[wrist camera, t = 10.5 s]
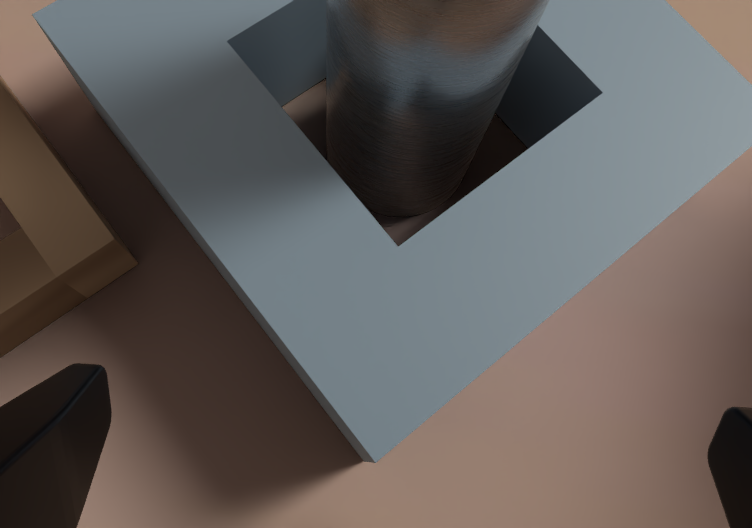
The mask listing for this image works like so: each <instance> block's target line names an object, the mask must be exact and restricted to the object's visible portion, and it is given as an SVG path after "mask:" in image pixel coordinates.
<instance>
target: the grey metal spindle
mask: <svg viewBox="0 0 752 528" xmlns="http://www.w3.org/2000/svg"><path fill="white" fill-rule="evenodd" d="M549 1H550V0H326V136H327V159H328V163H329V164H330V166H331V167H332V168H333V169H334V170H335V172H336V173H337V174H338V175H339V176H340V178H341V179H342V180H343V181H344V182H345V184H346V185H347V186H348V187H349V188H350V190H351V191H352V192H353V193H354V194H355V196H356V197H357V198H358V199H359V200H360V202H361V203H362V204H363V205H364V206H365V208H366V209H368V210H370V211H373V212H376V213H379V214H383V215H387V216H397V217H402V216H413V215H418V214H421V213H425V212H427V211H430V210H432V209H434V208H436V207H438V206H439V205H441V204H442V203H444V202H445V201H446V200H447V199H449V197H450V196H451V195H452V194H453V193H454V192H455V191H456V189H457V188H458V186H459V185H460V183H461V181H462V179H463V177H464V175H465V173H466V171H467V169H468V167H469V165H470V163H471V161H472V159H473V157H474V155H475V153H476V150H477V148H478V146H479V144H480V142H481V140H482V138H483V136H484V134H485V132H486V130H487V128H488V126H489V124H490V122H491V120H492V118H493V116H494V114H495V111H496V109H497V107H498V105H499V103H500V101H501V99H502V97H503V95H504V93H505V91H506V89H507V87H508V85H509V83H510V81H511V79H512V77H513V75H514V72H515V70H516V68H517V66H518V64H519V62H520V60H521V58H522V56H523V54H524V52H525V50H526V48H527V46H528V44H529V42H530V40H531V38H532V36H533V33H534V31H535V29H536V27H537V25H538V23H539V21H540V19H541V17H542V15H543V13H544V11H545V9H546V7H547V5H548V3H549Z"/></svg>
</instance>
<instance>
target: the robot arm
mask: <svg viewBox="0 0 752 528" xmlns="http://www.w3.org/2000/svg"><path fill="white" fill-rule="evenodd" d="M111 413H112V412H111V403H110V395H109V387H108V379H107V373H106V370H105V368H104V367H102V366H101V365H94V364H80V363H77V364H72V365H70V366H68V367H66V368H65V369H63V370H61V371H60V372H58V373H56V374H55V375H53V376H51V377H50V378H48V379H46V380H45V381H43V382H41V383H40V384H38V385H36V386H35V387H33V388H31V389H30V390H28V391H26V392H24V393H23V394H21V395H19V396H18V397H16V398H14V399H13V400H11V401H9V402H8V403H6V404H4V405H3V406H1V407H0V528H76V527H77V525H78V522H79V519H80V516H81V513H82V511H83V508H84V505H85V501H86V498H87V495H88V492H89V489H90V486H91V483H92V480H93V477H94V474H95V471H96V468H97V465H98V462H99V458H100V455H101V452H102V449H103V446H104V443H105V440H106V437H107V434H108V431H109V427H110V423H111ZM708 463H709V467H710V470H711V473H712V476H713V479H714V482H715V485H716V488H717V491H718V494H719V497H720V500H721V503H722V506H723V508H724V511H725V514H726V517H727V520H728V523H729V526H730V528H752V408H746V407H731V408H729V409H727V410H726V411H725V412H724V414H723V416H722V418H721V421H720V423H719V425H718V427H717V430H716V432H715V434H714V436H713V439H712V441H711V443H710V446H709V449H708Z"/></svg>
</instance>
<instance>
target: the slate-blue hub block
mask: <svg viewBox="0 0 752 528" xmlns="http://www.w3.org/2000/svg"><path fill="white" fill-rule="evenodd" d="M32 15H33V17H34V18H35V20H36V21H37V23H38V24H39V26H40V27H41V29H42V30H43V32H44V33H45V35H46V36H47V38H48V39H49V41H50V42H51V44H52V45H53V47H54V48H55V50H56V51H57V53H58V54H59V56H60V57H61V59H62V60H63V62H64V63H65V65H66V66H67V68H68V69H69V71H70V72H71V74H72V75H73V77H74V78H75V80H76V81H77V83H78V84H79V86H80V87H81V89H82V90H83V92H84V93H85V95H86V96H87V98H88V99H89V101H90V102H91V104H92V105H93V107H94V108H95V110H96V111H97V112H98V114H99V115H100V116H101V118H102V119H103V120H104V122H105V123H106V124H107V125H108V127H109V128H110V129H111V131H112V132H113V133H114V135H115V136H116V137H117V139H118V140H119V141H120V142H121V144H122V145H123V146H124V148H125V149H126V150H127V152H128V153H129V154H130V156H131V157H132V158H133V160H134V161H135V162H136V163H137V165H138V166H139V167H140V169H141V170H142V171H143V173H144V174H145V175H146V177H147V178H148V179H149V180H150V182H151V183H152V184H153V186H154V187H155V188H156V190H157V191H158V192H159V194H160V195H161V196H162V198H163V199H164V200H165V201H166V203H167V204H168V205H169V207H170V208H171V209H172V211H173V212H174V213H175V215H176V216H177V217H178V218H179V220H180V221H181V222H182V224H183V225H184V226H185V228H186V229H187V230H188V232H189V233H190V234H191V236H192V237H193V238H194V239H195V241H196V242H197V243H198V245H199V246H200V247H201V249H202V250H203V251H204V253H205V254H206V255H207V256H208V258H209V259H210V260H211V262H212V263H213V264H214V266H215V267H216V268H217V270H218V271H219V272H220V274H221V275H222V276H223V277H224V279H225V280H226V281H227V283H228V284H229V285H230V287H231V288H232V289H233V291H234V292H235V293H236V294H237V296H238V297H239V298H240V300H241V301H242V302H243V304H244V305H245V306H246V308H247V309H248V310H249V312H250V313H251V314H252V315H253V317H254V318H255V319H256V321H257V322H258V323H259V325H260V326H261V327H262V329H263V330H264V331H265V332H266V334H267V335H268V336H269V338H270V339H271V340H272V342H273V343H274V344H275V346H276V347H277V348H278V350H279V351H280V352H281V353H282V355H283V356H284V357H285V359H286V360H287V361H288V363H289V364H290V365H291V367H292V368H293V369H294V370H295V372H296V373H297V374H298V376H299V377H300V378H301V380H302V381H303V382H304V384H305V385H306V386H307V388H308V389H309V390H310V391H311V393H312V394H313V395H314V397H315V398H316V399H317V401H318V402H319V403H320V405H321V406H322V407H323V408H324V410H325V411H326V412H327V414H328V415H329V416H330V418H331V419H332V420H333V422H334V423H335V424H336V426H337V427H338V428H339V429H340V431H341V432H342V433H343V435H344V436H345V437H346V439H347V440H348V441H349V443H350V444H351V445H352V447H353V448H354V449H355V450H356V452H357V453H358V454H359V456H360V457H361V458H362V460H363V461H364V462H373V463H376V462H377V461H378V460H380V459H381V458H382V457H383V456H384V455H385V454H387V453H388V452H389V451H390V450H391V449H393V448H394V447H395V446H396V445H397V444H398V443H400V442H401V441H402V440H403V439H404V438H406V437H407V436H408V435H409V434H410V433H412V432H413V431H414V430H415V429H416V428H417V427H419V426H420V425H421V424H422V423H423V422H425V421H426V420H427V419H428V418H429V417H431V416H432V415H433V414H434V413H435V412H436V411H438V410H439V409H440V408H441V407H442V406H444V405H445V404H446V403H447V402H448V401H450V400H451V399H452V398H453V397H454V396H455V395H457V394H458V393H459V392H460V391H461V390H463V389H464V388H465V387H466V386H467V385H469V384H470V383H471V382H472V381H473V380H474V379H476V378H477V377H478V376H479V375H480V374H482V373H483V372H484V371H485V370H486V369H488V368H489V367H490V366H491V365H492V364H493V363H495V362H496V361H497V360H498V359H499V358H501V357H502V356H503V355H504V354H505V353H507V352H508V351H509V350H510V349H511V348H512V347H514V346H515V345H516V344H517V343H518V342H520V341H521V340H522V339H523V338H524V337H526V336H527V335H528V334H529V333H530V332H531V331H533V330H534V329H535V328H536V327H537V326H539V325H540V324H541V323H542V322H543V321H545V320H546V319H547V318H548V317H549V316H550V315H552V314H553V313H554V312H555V311H556V310H558V309H559V308H560V307H561V306H562V305H564V304H565V303H566V302H567V301H568V300H569V299H571V298H572V297H573V296H574V295H575V294H577V293H578V292H579V291H580V290H581V289H583V288H584V287H585V286H586V285H587V284H588V283H590V282H591V281H592V280H593V279H594V278H596V277H597V276H598V275H599V274H600V273H602V272H603V271H604V270H605V269H606V268H607V267H609V266H610V265H611V264H612V263H613V262H615V261H616V260H617V259H618V258H619V257H620V256H622V255H623V254H624V253H625V252H626V251H628V250H629V249H630V248H631V247H632V246H634V245H635V244H636V243H637V242H638V241H639V240H641V239H642V238H643V237H644V236H645V235H647V234H648V233H649V232H650V231H651V230H653V229H654V228H655V227H656V226H657V225H658V224H660V223H661V222H662V221H663V220H664V219H666V218H667V217H668V216H669V215H670V214H672V213H673V212H674V211H675V210H676V209H677V208H679V207H680V206H681V205H682V204H683V203H685V202H686V201H687V200H688V199H689V198H691V197H692V196H693V195H694V194H695V193H696V192H698V191H699V190H700V189H701V188H702V187H704V186H705V185H706V184H707V183H708V182H710V181H711V180H712V179H713V178H714V177H715V176H717V175H718V174H719V173H720V172H721V171H723V170H724V169H725V168H726V167H727V166H729V165H730V164H731V163H732V162H733V161H734V160H736V159H737V158H738V157H739V156H740V155H742V154H743V153H744V152H745V151H746V150H748V149H749V148H750V147H751V146H752V85H751V84H750V83H749V82H748V81H747V80H746V79H745V78H744V77H743V76H742V75H741V74H740V73H739V72H738V71H737V70H736V69H735V68H734V67H733V66H732V65H731V64H730V63H729V62H728V61H727V60H726V59H725V58H724V57H723V56H722V55H721V54H720V53H718V52H717V51H716V50H715V49H714V48H713V47H712V46H711V45H710V44H709V43H708V42H707V41H706V40H705V39H704V38H703V37H702V36H701V35H700V34H699V33H698V32H697V31H696V30H695V29H694V28H693V27H692V26H691V25H690V24H689V23H688V22H687V21H686V20H685V19H684V18H683V17H682V16H681V15H680V14H679V13H678V12H677V11H676V10H674V9H673V8H672V7H671V6H670V5H669V4H668V3H667V2H666V1H665V0H550V1H549V3H548V5H547V7H546V9H545V11H544V13H543V15H542V17H541V19H540V21H539V23H538V25H537V27H536V29H535V31H534V33H533V36H532V38H531V40H530V42H529V44H528V46H527V48H526V50H525V52H524V54H523V56H522V58H521V60H520V62H519V64H518V66H517V68H516V70H515V72H514V75H513V77H512V79H511V81H510V83H509V85H508V87H507V89H506V91H505V93H504V95H503V97H502V99H501V101H500V103H499V105H498V107H497V109H496V111H495V113H496V114H497V115H498V116H499V117H500V118H501V119H502V120H503V122H504V123H505V124H506V125H507V126H508V127H509V128H510V129H511V130H512V131H513V132H514V134H515V135H516V136H517V137H518V138H519V139H520V140H521V141H522V142H523V143H524V144H525V146H526V147H527V148H528V150H526V151H525V152H524V153H522V154H521V155H520V156H518V157H517V158H516V159H514V160H513V161H512V162H510V163H509V164H508V165H506V166H505V167H504V168H502V169H501V170H500V171H498V172H497V173H496V174H494V175H493V176H492V177H490V178H489V179H488V180H486V181H485V182H484V183H482V184H481V185H480V186H478V187H477V188H476V189H474V190H473V191H472V192H470V193H469V194H468V195H466V196H465V197H464V198H462V199H461V200H460V201H458V202H457V203H456V204H454V205H453V206H452V207H450V208H449V209H448V210H446V211H445V212H444V213H442V214H441V215H440V216H438V217H437V218H436V219H434V220H433V221H432V222H430V223H429V224H428V225H426V226H425V227H424V228H422V229H421V230H420V231H418V232H417V233H416V234H414V235H413V236H412V237H410V238H409V239H408V240H406V241H405V242H404V243H402V244H401V245H400V246H397V245H396V243H395V242H394V241H393V240H392V239H391V238H390V236H389V235H388V234H387V233H386V232H385V230H384V229H383V228H382V227H381V226H380V224H379V223H378V222H377V221H376V220H375V218H374V217H373V216H372V215H371V214H370V212H369V211H368V210H367V209H366V208H365V206H364V205H363V204H362V203H361V202H360V200H359V199H358V198H357V197H356V196H355V194H354V193H353V192H352V191H351V190H350V188H349V187H348V186H347V185H346V184H345V182H344V181H343V180H342V179H341V178H340V176H339V175H338V174H337V173H336V172H335V170H334V169H333V168H332V167H331V166H330V164H329V163H328V162H327V161H326V160H325V158H324V157H323V156H322V155H321V154H320V152H319V151H318V150H317V149H316V148H315V146H314V145H313V144H312V143H311V142H310V140H309V139H308V138H307V137H306V136H305V134H304V133H303V132H302V131H301V130H300V129H299V127H298V126H297V125H296V124H295V123H294V121H293V120H292V119H291V118H290V117H289V115H288V114H287V113H286V112H285V111H284V109H283V108H282V106H283V105H285V104H286V103H288V102H289V101H291V100H292V99H294V98H295V97H297V96H298V95H300V94H302V93H303V92H305V91H306V90H308V89H309V88H311V87H312V86H314V85H315V84H317V83H318V82H320V81H321V80H323V79H325V78H326V0H57V1H55V2H54V3H52V4H50V5H48V6H46V7H45V8H43V9H41V10H39V11H37V12H36V13H34V14H32Z"/></svg>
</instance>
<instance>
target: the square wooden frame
mask: <svg viewBox="0 0 752 528" xmlns="http://www.w3.org/2000/svg"><path fill="white" fill-rule="evenodd" d="M0 198H1V199H2V201H3V202H4V203H5V205H6V206H7V208H8V209H9V210H10V212H11V213H12V215H13V216H14V218H15V219H16V220H17V222H18V223H19V225H20V226H21V228H19V229H18V230H16V231H15V232H13V233H11V234H10V235H8V236H7V237H5V238H3V239H2V240H0V357H2V356H3V355H5V354H6V353H8V352H9V351H11V350H12V349H14V348H15V347H17V346H18V345H20V344H21V343H22V342H24V341H25V340H27V339H28V338H30V337H31V336H33V335H34V334H36V333H37V332H39V331H40V330H42V329H43V328H45V327H46V326H48V325H49V324H50V323H52V322H53V321H55V320H56V319H58V318H59V317H61V316H62V315H64V314H65V313H67V312H68V311H70V310H71V309H73V308H74V307H76V306H77V305H79V304H80V303H81V302H83V301H84V300H86V299H87V298H89V297H90V296H92V295H93V294H95V293H96V292H98V291H99V290H101V289H102V288H104V287H105V286H107V285H108V284H109V283H111V282H112V281H114V280H115V279H117V278H118V277H120V276H121V275H123V274H124V273H126V272H127V271H129V270H130V269H132V268H133V267H135V266H136V265H138V264H139V263H138V262H137V261H136V259H135V258H134V257H133V255H132V254H131V252H130V251H129V250H128V248H127V247H126V246H125V244H124V243H123V242H122V240H121V239H120V237H119V236H118V235H117V233H116V232H115V231H114V229H113V228H112V227H111V225H110V224H109V223H108V221H107V220H106V218H105V217H104V216H103V214H102V213H101V212H100V210H99V209H98V208H97V206H96V205H95V204H94V202H93V201H92V199H91V198H90V197H89V195H88V194H87V193H86V191H85V190H84V189H83V187H82V186H81V185H80V183H79V182H78V180H77V179H76V178H75V176H74V175H73V174H72V172H71V171H70V170H69V168H68V167H67V166H66V164H65V163H64V161H63V160H62V159H61V157H60V156H59V155H58V153H57V152H56V151H55V149H54V148H53V147H52V145H51V144H50V142H49V141H48V140H47V138H46V137H45V136H44V134H43V133H42V132H41V130H40V129H39V127H38V126H37V125H36V123H35V122H34V121H33V119H32V118H31V117H30V115H29V114H28V113H27V111H26V110H25V108H24V107H23V106H22V104H21V103H20V102H19V100H18V99H17V98H16V96H15V95H14V94H13V92H12V91H11V89H10V88H9V87H8V85H7V84H6V83H5V81H4V80H3V79H2V77H1V76H0Z"/></svg>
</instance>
